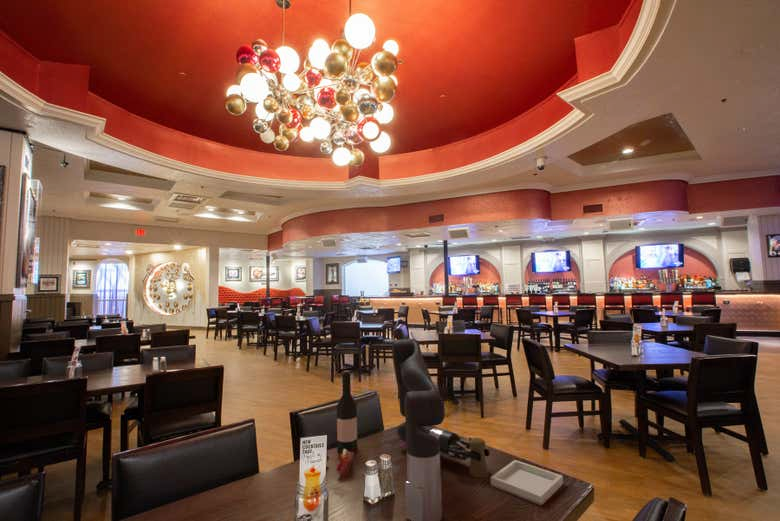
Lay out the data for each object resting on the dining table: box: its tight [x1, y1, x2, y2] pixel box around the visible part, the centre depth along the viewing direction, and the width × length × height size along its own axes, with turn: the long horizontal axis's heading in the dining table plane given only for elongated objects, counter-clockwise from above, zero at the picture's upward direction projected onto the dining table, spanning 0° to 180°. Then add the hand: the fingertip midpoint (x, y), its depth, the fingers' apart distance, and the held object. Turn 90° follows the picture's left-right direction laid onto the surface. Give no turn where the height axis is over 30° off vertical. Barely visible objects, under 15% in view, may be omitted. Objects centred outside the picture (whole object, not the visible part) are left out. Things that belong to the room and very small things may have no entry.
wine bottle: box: [336, 370, 358, 454], centre depth 146 cm, size 8×8×30 cm
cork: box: [468, 437, 489, 479], centre depth 124 cm, size 6×6×11 cm
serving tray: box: [490, 459, 564, 507], centre depth 116 cm, size 16×16×2 cm
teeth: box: [326, 449, 355, 479], centre depth 128 cm, size 10×8×15 cm
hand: (484, 455), depth 122 cm, fingers closed on cork, 4 cm apart
